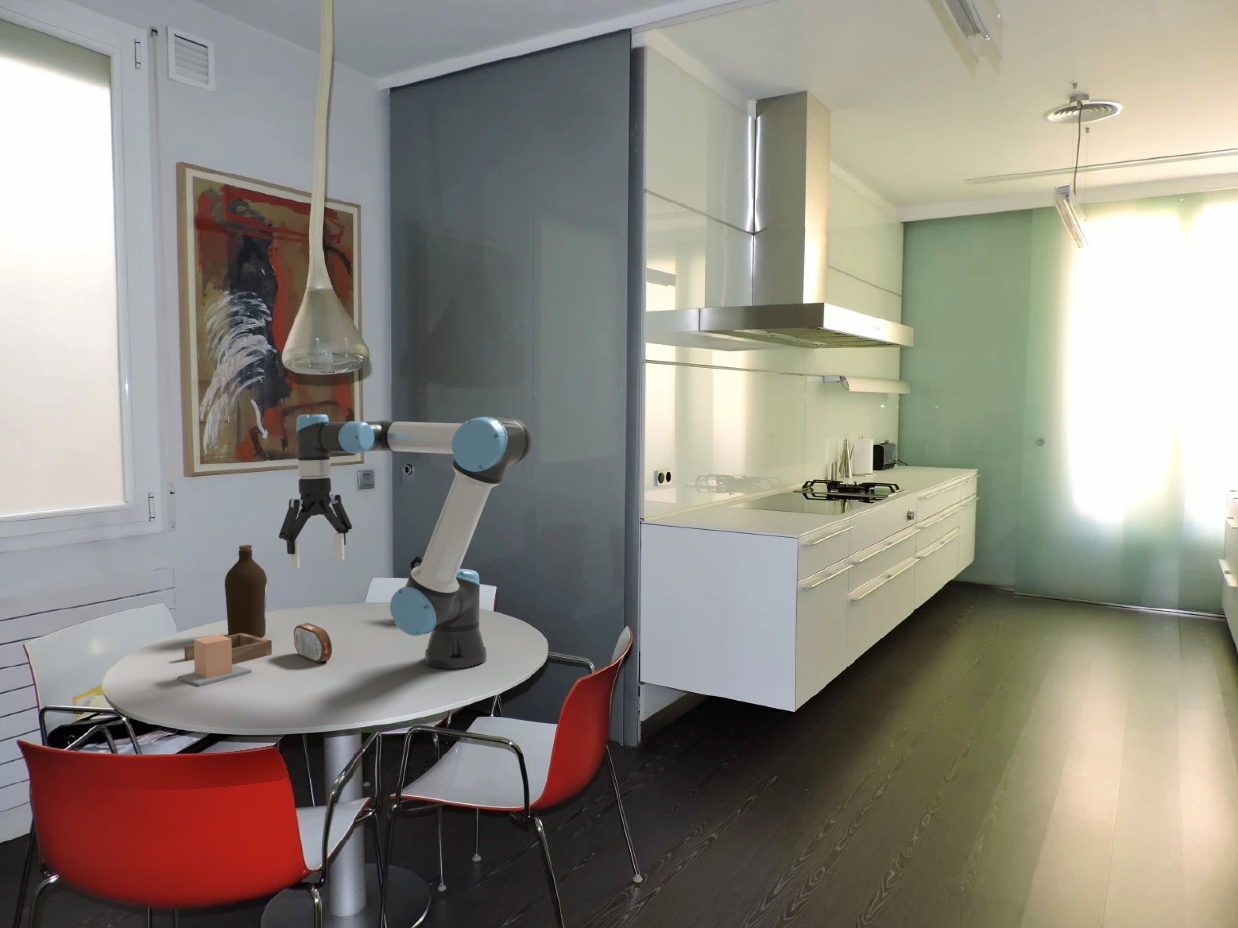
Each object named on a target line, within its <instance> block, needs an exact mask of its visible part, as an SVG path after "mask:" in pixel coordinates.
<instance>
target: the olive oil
mask: <svg viewBox="0 0 1238 928" xmlns="http://www.w3.org/2000/svg"><path fill="white" fill-rule="evenodd" d="M238 548H239V550H238V559H237V561H236V562H235V564H234V565H232V567H231V568H230V569H229V570H228V571H227V573H226V576H225V578H224V593H225V605H226V607H225V608H226V618H227V619H226V620H227V621H226V622H227V636H230V635H234V634H238V633H244V634H248V635H252V636H256V637H260V638H263V637H264V636H266V630H267V629H266V628H267V627H266V620H267V619H266V618H267V616H266V615H267V614H266V613H267V590H268V588H267V587H268V578H267V574H266V571H265V570H264V569H263V567H261V566H260V565H259V563H257V562H256V561H255V560H254V559H253V550H252V548H253V546H252V544H242V545H239V546H238Z"/></svg>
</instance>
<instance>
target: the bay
mask: <svg viewBox="0 0 1238 928" xmlns="http://www.w3.org/2000/svg"><path fill="white" fill-rule="evenodd" d="M224 636H225V637H228V638H230V639H231V644H232V664H233V665H236V664H239V663H243V662H247V661H250V660H254V659H258V658H262V657H266V655H267V656H270V655H272V654H273V648H272V645H273V644H272V643H273V641H272V640H270V639H266V638H263V637H261V638H260V637H256V636H252V635H248V634H244V633H238V634H234V635H230V636H228V635H224ZM183 648H184V660H185V661H187V662H188V661H192V660H194V643H190V644H186V645H184V647H183Z"/></svg>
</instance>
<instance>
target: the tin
mask: <svg viewBox="0 0 1238 928" xmlns="http://www.w3.org/2000/svg"><path fill="white" fill-rule="evenodd" d="M293 639H294V647H295V650H296V652H297V654H298V655H300V656H301V657H302V658H305V659H307V660H310V661H312V662H313V663H317V664H319V663H323V662H328V661H329V660H330V659H331V657H332V653H333V646H332V640H331V638H330V635H329V634H328V632H327V631H326V629H324V628H322V627H321V626H317V625H315V624H312V623H310V622H305V623H302V624H301V623H300V624H298V625H296V626H295V628H294V629H293Z"/></svg>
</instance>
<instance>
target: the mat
mask: <svg viewBox="0 0 1238 928" xmlns="http://www.w3.org/2000/svg"><path fill="white" fill-rule="evenodd" d="M251 673H252V669H249V668H246V667H244V666H240V665H237V664H232V673H227V674H223V675H218V676H214V677H210V678H205V677H203V676H200V675H198V674H196V673H195V671H194V672H191V673H186V674H181V675H178V676H177V677H176V680H178V679H179V681H182V682H185V683H188V684H191V685H194V686H196V687H201V686H202V687H203V686H206V685H210V684H213V683H216V682H221V681H224V680H223V679H225V680H228V679H232V678H236V677H239V676H242V675H247V674H251ZM227 678H228V679H227Z"/></svg>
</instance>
